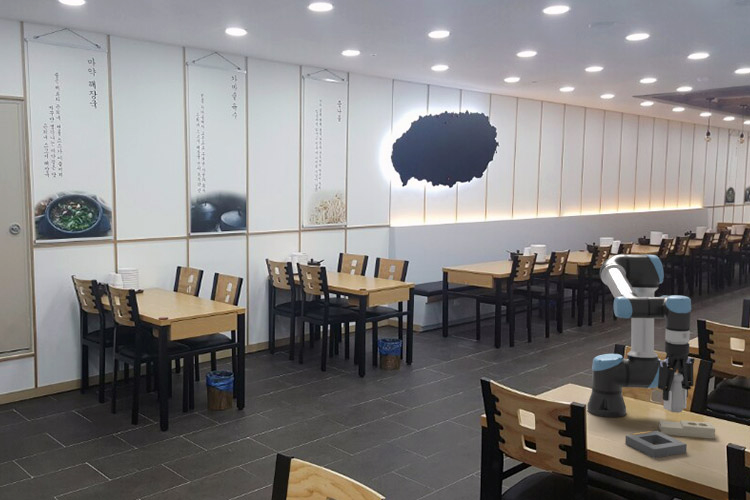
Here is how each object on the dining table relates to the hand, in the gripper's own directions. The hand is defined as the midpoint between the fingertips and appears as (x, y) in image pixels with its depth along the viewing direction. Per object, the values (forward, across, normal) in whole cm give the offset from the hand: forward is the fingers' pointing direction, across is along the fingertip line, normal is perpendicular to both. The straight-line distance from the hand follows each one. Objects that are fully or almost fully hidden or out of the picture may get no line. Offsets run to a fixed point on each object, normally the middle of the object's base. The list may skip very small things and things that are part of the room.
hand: (674, 408), depth 227 cm
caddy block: (+16, -2, +6) cm, 17 cm away
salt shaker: (+1, 0, 0) cm, 1 cm away
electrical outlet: (+17, +20, +14) cm, 29 cm away
